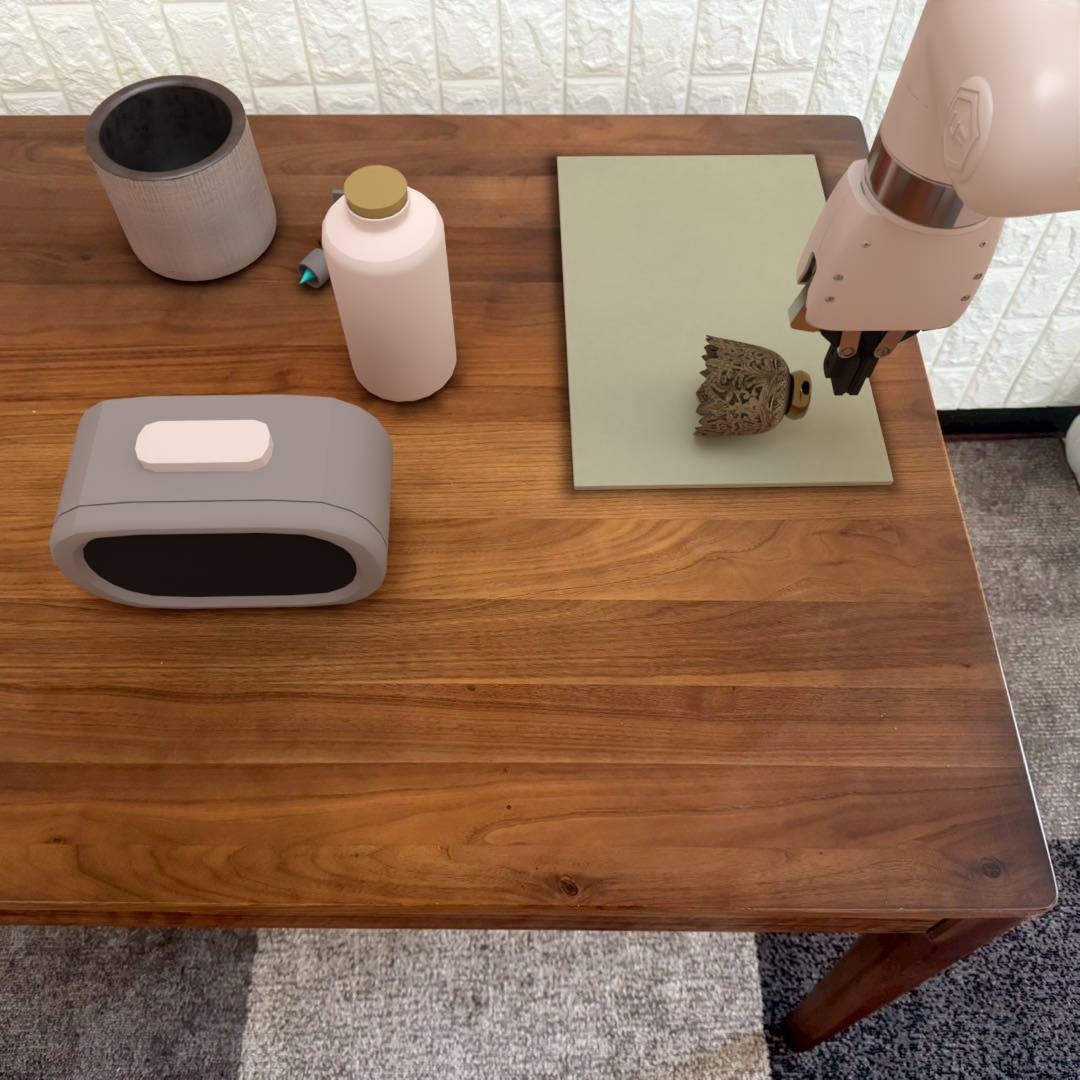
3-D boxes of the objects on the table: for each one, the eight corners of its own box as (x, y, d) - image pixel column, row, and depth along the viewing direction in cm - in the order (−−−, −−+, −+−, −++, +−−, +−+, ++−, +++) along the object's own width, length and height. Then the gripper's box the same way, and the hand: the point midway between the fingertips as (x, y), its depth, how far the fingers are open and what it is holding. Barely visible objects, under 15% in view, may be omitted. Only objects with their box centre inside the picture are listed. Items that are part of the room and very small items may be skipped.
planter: (112, 218, 85) (58, 107, 75) (243, 166, 88) (207, 54, 78) (167, 309, 80) (116, 203, 70) (303, 250, 83) (273, 141, 73)
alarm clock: (98, 618, 66) (6, 520, 54) (123, 500, 71) (44, 387, 59) (397, 612, 67) (369, 515, 55) (403, 496, 71) (379, 383, 60)
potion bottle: (431, 421, 75) (405, 248, 59) (335, 388, 76) (286, 211, 60) (474, 344, 78) (461, 162, 63) (382, 315, 80) (347, 129, 64)
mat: (891, 485, 72) (894, 481, 72) (573, 490, 72) (574, 486, 71) (812, 159, 90) (814, 154, 89) (556, 161, 89) (556, 156, 89)
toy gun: (287, 286, 81) (274, 243, 77) (374, 203, 86) (366, 158, 82) (378, 335, 79) (370, 293, 75) (462, 246, 84) (459, 202, 79)
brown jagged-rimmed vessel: (797, 390, 76) (695, 381, 76) (819, 323, 69) (708, 313, 70) (798, 466, 72) (690, 455, 72) (820, 402, 65) (703, 391, 66)
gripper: (1055, 120, 54) (934, 338, 70) (791, 121, 54) (730, 339, 70) (1095, 215, 50) (957, 421, 67) (813, 217, 50) (743, 424, 66)
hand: (841, 379), depth 68 cm, fingers closed
